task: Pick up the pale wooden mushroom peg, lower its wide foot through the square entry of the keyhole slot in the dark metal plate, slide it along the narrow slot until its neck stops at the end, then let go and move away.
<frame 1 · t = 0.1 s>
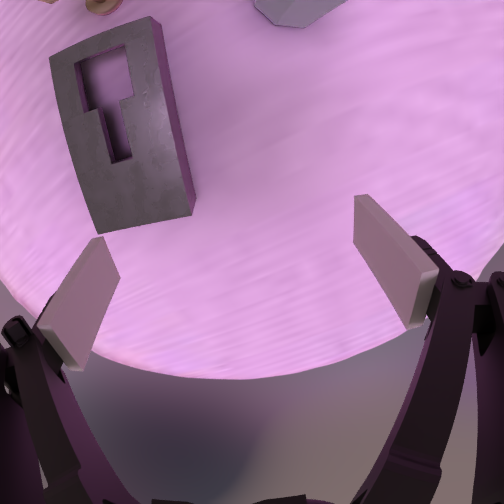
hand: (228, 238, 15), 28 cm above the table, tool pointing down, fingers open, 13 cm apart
keyhole plate: (129, 124, 36), on the table
peg: (107, 0, 26), on the table
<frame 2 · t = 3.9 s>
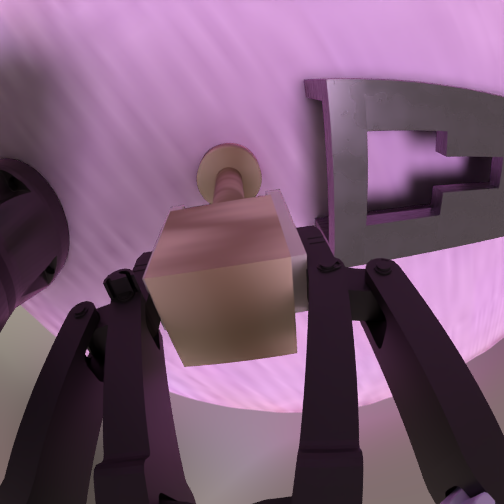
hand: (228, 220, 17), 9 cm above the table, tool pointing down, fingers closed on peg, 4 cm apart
keyhole plate: (435, 153, 24), on the table
peg: (229, 172, 24), on the table, touching gripper
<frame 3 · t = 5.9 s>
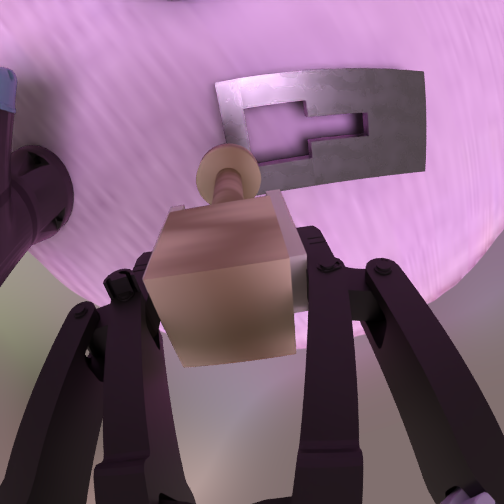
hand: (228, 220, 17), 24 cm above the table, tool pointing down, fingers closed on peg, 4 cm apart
keyhole plate: (322, 119, 37), on the table
peg: (228, 172, 24), point 15 cm above the table, touching gripper
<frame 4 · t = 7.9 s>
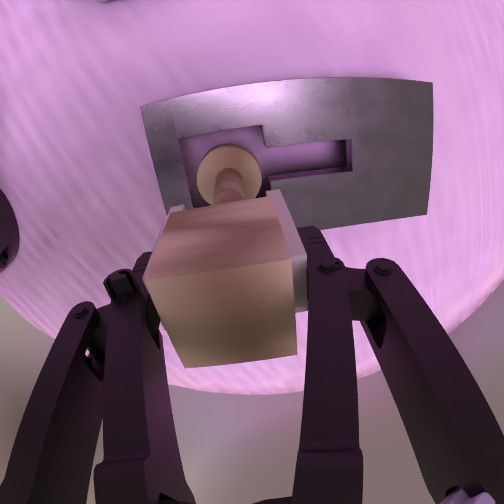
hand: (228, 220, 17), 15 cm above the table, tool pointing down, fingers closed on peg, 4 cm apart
keyhole plate: (294, 145, 30), on the table
peg: (229, 172, 24), point 6 cm above the table, touching gripper
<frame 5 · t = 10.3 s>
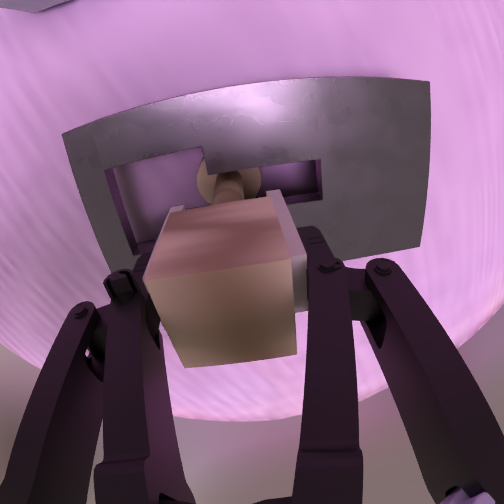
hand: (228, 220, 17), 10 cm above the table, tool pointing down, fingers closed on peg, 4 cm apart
keyhole plate: (256, 164, 25), on the table
peg: (229, 172, 24), point 1 cm above the table, touching gripper
when the fingers open (10 cm above the table, at t = 12.4 s): peg stays where it is, on the table.
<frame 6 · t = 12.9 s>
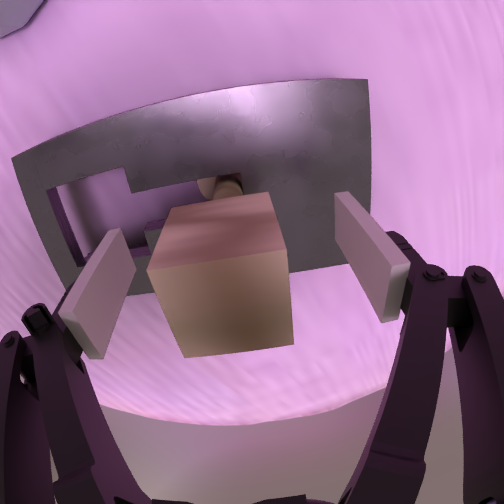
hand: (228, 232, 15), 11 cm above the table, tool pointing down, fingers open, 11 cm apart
keyhole plate: (194, 176, 25), on the table
peg: (228, 171, 25), on the table
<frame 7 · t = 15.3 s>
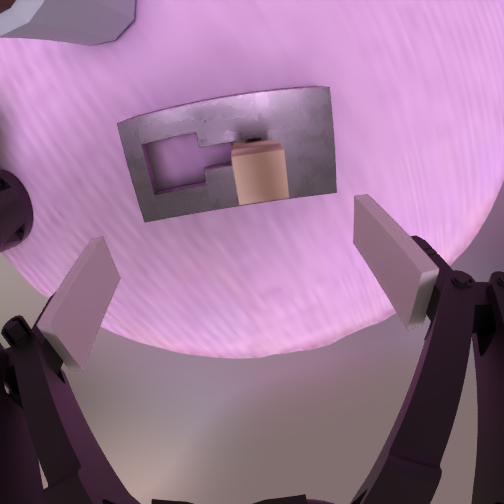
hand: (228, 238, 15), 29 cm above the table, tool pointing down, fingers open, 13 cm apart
keyhole plate: (230, 144, 40), on the table
peg: (251, 141, 40), on the table
water bottle: (107, 16, 28), on the table
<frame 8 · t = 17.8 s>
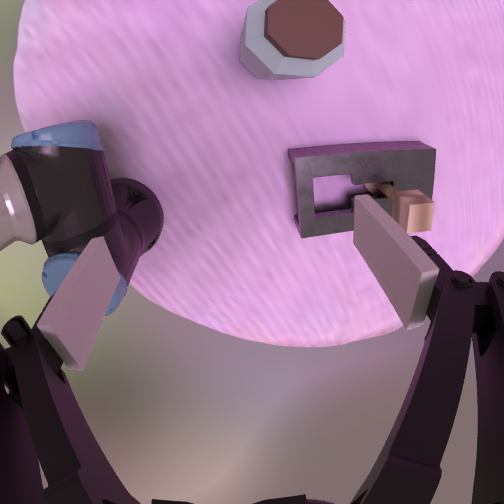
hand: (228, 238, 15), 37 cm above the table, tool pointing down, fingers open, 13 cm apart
keyhole plate: (359, 179, 52), on the table
peg: (373, 178, 52), on the table
water bottle: (269, 52, 40), on the table
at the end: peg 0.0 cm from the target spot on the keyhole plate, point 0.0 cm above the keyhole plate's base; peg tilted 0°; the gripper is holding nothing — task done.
